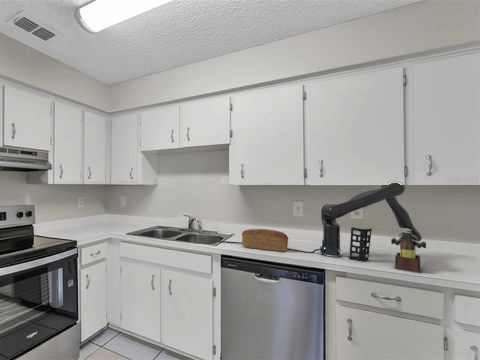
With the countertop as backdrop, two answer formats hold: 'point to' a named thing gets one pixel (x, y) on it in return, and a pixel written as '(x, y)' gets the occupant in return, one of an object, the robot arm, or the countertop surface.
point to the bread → (265, 239)
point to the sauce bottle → (407, 246)
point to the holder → (362, 242)
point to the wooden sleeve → (407, 263)
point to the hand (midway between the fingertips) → (407, 244)
